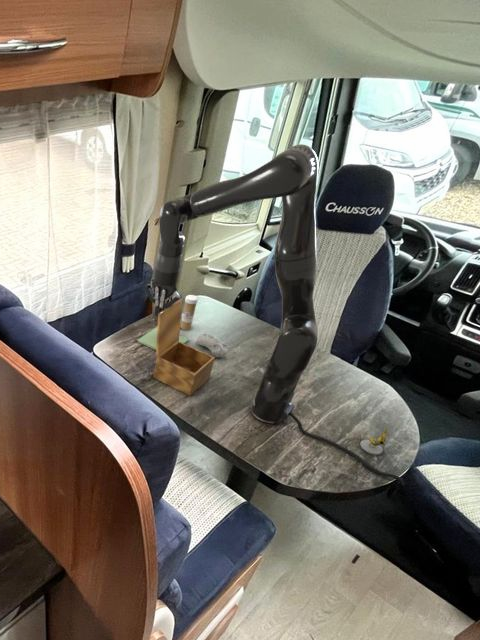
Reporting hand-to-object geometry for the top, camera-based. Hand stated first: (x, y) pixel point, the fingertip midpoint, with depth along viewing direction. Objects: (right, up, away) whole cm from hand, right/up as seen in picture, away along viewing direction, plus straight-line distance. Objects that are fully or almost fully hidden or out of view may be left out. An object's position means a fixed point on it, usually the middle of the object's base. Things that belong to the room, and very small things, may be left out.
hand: (158, 315), depth 146 cm
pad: (+7, -6, +23) cm, 25 cm away
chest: (+9, -20, +5) cm, 23 cm away
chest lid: (+4, -4, -1) cm, 6 cm away
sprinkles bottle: (+17, 0, +31) cm, 36 cm away
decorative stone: (+23, -10, +19) cm, 31 cm away
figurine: (+57, -41, -19) cm, 73 cm away
